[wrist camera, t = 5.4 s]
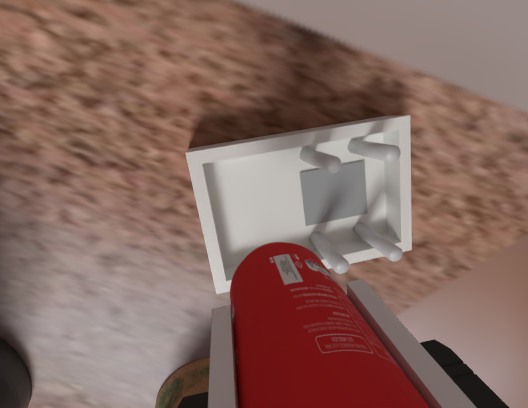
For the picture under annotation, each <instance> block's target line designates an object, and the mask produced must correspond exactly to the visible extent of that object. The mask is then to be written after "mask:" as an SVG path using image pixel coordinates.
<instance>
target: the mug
mask: <svg viewBox="0 0 528 408" xmlns="http://www.w3.org/2000/svg"><path fill="white" fill-rule="evenodd" d="M209 371H210V358H204V359H200V360H196V361H193V362H191V363H189V364H187V365H185V366H183V367H181V368H180V369H178V370H177V371H175V372H174V373H173V374H172V375H171V376H170V377H169V378H168V379H167V380H166V381H165V383H164V384H163V385H162V387H161V389H160V391H159V393H158V396H157V400H156V405H155V408H177V407H178V405H179V403H180V402H181V400H182V398H183V397H186V396H190V395H195V394H199V393H204V392H208V391H209Z"/></svg>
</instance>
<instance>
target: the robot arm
mask: <svg viewBox="0 0 528 408" xmlns="http://www.w3.org/2000/svg"><path fill="white" fill-rule="evenodd" d="M346 285H347V296H348V298H349V299H350V300H351V302H352V303H353V304H354V306H355V307H356V308H357V310H358V311H359V312H360V314H361V315H362V317H363V318H364V319H365V321H366V322H367V323H368V325H369V326H370V327H371V329H372V330H373V331H374V333H375V334H376V335H377V337H378V338H379V339H380V341H381V342H382V343H383V345H384V346H385V348H386V349H387V350H388V352H389V353H390V354H391V356H392V357H393V358H394V360H395V361H396V362H397V364H398V365H399V366H400V368H401V369H402V370H403V372H404V373H405V374H406V376H407V377H408V379H409V380H410V381H411V383H412V384H413V385H414V387H415V388H416V389H417V391H418V392H419V393H420V395H421V396H422V397H423V399H424V400H425V401H426V403H427V404H428V405H429V407H430V408H509V407H508V406H507V405H506V404H505V403H504V402H503V401H502V400H501V399H500V398H499V397H498V396H497V395H496V394H495V393H494V392H493V391H492V390H491V389H490V388H489V387H488V386H487V385H486V384H485V383H484V382H483V381H482V380H481V379H480V378H479V377H478V376H477V375H476V374H474V373H473V371H472V370H471V369H470V368H469V367H468V366H467V365H466V364H464V363H463V361H462V360H461V359H460V358H459V357H458V356H457V355H456V354H455V353H454V352H453V351H452V350H451V349H450V348H448V347H446V346H445V345H443V344H441V343H440V342H438V341H436V340H430V341H426V342H422V343H419V342H418V341H417V340H416V339H415V337H414V336H413V335H412V334H411V333H410V332H409V331H408V329H407V328H406V327H405V326H404V325H403V324H402V323H401V322H400V321H399V319H398V318H397V317H396V316H395V315H394V314H393V313H392V311H391V310H390V309H389V308H388V307H387V306H386V305H385V303H384V302H383V301H382V300H381V299H380V298H379V297H378V296H377V294H376V293H375V292H374V291H373V290H372V289H371V288H370V286H369V285H368V284H367V283H366V282H365V281H364V280H363V279H360V280H355V281H350V282H346ZM30 394H31V385H30V379H29V375H28V372H27V370H26V367H25V365H24V364H23V362H22V360H21V359H20V357H19V356H18V355H17V353H16V352H15V351H14V350H13V349H12V348H11V347H10V346H9V345H8V344H7V343H5V342H4V341H3V340H2V339H0V408H27V407H28V404H29V400H30ZM177 408H239V400H238V386H237V372H236V358H235V343H234V329H233V318H232V313H231V308H230V306H226V307H221V308H216V309H212V324H211V347H210V371H209V391H208V392H204V393H199V394H195V395H190V396H186V397H183V398H182V400H181V402H180V403H179V405H178V407H177Z"/></svg>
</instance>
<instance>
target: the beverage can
mask: <svg viewBox="0 0 528 408" xmlns="http://www.w3.org/2000/svg"><path fill="white" fill-rule="evenodd" d="M230 299H231V313H232V318H233V329H234V343H235V358H236V372H237V386H238V400H239V408H430V407H429V405H428V404H427V403H426V401H425V400H424V399H423V397H422V396H421V395H420V393H419V392H418V391H417V389H416V388H415V387H414V385H413V384H412V383H411V381H410V380H409V379H408V377H407V376H406V374H405V373H404V372H403V370H402V369H401V368H400V366H399V365H398V364H397V362H396V361H395V360H394V358H393V357H392V356H391V354H390V353H389V352H388V350H387V349H386V348H385V346H384V345H383V343H382V342H381V341H380V339H379V338H378V337H377V335H376V334H375V333H374V331H373V330H372V329H371V327H370V326H369V325H368V323H367V322H366V321H365V319H364V318H363V317H362V315H361V314H360V312H359V311H358V310H357V308H356V307H355V306H354V304H353V303H352V302H351V300H350V299H349V298H348V296H347V295H346V294H345V292H344V291H343V290H342V288H341V287H340V286H339V284H338V283H337V281H336V280H335V279H334V277H333V276H332V275H331V273H330V272H329V271H328V269H327V268H326V267H325V265H324V264H323V263H322V261H321V260H320V259H319V258H318V256H317V255H316V254H314V253H313V252H312V251H311V250H309V249H307V248H305V247H303V246H301V245H298V244H294V243H287V242H271V243H267V244H264V245H261V246H259V247H257V248H256V249H254V250H253V251H251V252H250V253H249V254H248V255H247V256H246V257H245V258H244V260H243V261H242V262H241V263H240V265H239V266H238V267H237V269H236V271H235V273H234V275H233V278H232V281H231V286H230Z"/></svg>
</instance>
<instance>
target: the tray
mask: <svg viewBox="0 0 528 408" xmlns="http://www.w3.org/2000/svg"><path fill="white" fill-rule="evenodd" d="M186 158H187V162H188V167H189V171H190V176H191V180H192V185H193V189H194V194H195V198H196V203H197V208H198V212H199V217H200V221H201V226H202V230H203V235H204V239H205V244H206V248H207V253H208V257H209V262H210V266H211V271H212V275H213V280H214V284H215V289H216V293H217V294H220V293H224V292H228V291H230V286H231V281H232V278H233V275H234V273H235V271H236V269H237V267H238V266H239V265H240V263H241V262H242V261H243V260H244V258H245V257H246V256H247V255H248V254H249V253H250V252H251V251H253V250H254V249H256V248H257V247H259V246H261V245H264V244H267V243H271V242H287V243H294V244H298V245H301V246H303V247H305V248H307V249H309V250H311V251H312V252H313V253H314V254H316V255H317V256H318V258H319V259H320V260H321V261H322V263H323V264H324V265H325V267H326V268H327V269H330V268H333V269H334V270H335V271H336V272H337V273H339V274H342V273H345V272H346V271H347V270H348V268H349V264H352V263H356V262H361V261H365V260H369V259H374V258H378V257H383V256H386V257H387V258H388V259H389V260H391V261H398V260H399V259H400V258H401V257H402V254H403V252H405V251H409V250H412V238H411V149H410V115H396V116H382V117H376V118H370V119H364V120H358V121H352V122H346V123H340V124H334V125H328V126H322V127H316V128H310V129H304V130H298V131H292V132H286V133H279V134H273V135H267V136H261V137H255V138H249V139H243V140H237V141H231V142H225V143H219V144H213V145H207V146H201V147H195V148H189V149H188V150H187V151H186Z"/></svg>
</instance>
